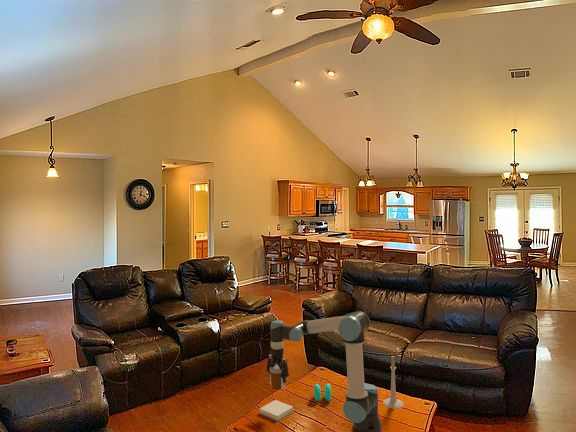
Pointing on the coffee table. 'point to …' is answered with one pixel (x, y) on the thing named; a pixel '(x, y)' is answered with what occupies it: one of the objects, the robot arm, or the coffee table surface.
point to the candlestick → (393, 390)
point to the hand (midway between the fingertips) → (277, 386)
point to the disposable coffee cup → (276, 376)
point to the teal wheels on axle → (318, 392)
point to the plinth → (276, 410)
